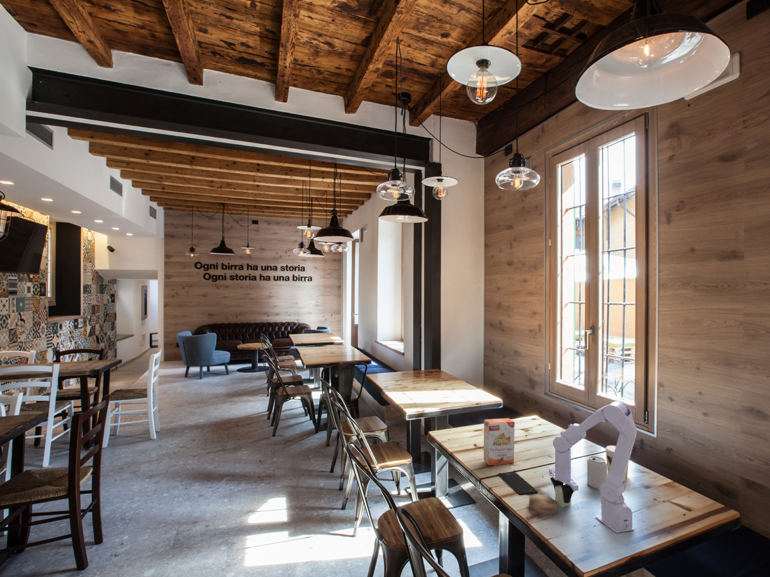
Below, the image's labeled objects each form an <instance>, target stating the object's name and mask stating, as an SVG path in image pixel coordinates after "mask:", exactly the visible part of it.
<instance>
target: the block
mask: <svg viewBox="0 0 770 577" xmlns="http://www.w3.org/2000/svg"><path fill="white" fill-rule="evenodd" d="M554 492H555V493H554V494H555V495H554V500H555V501H556V503H557V505H559V506H561V507H568V506H571V505H572V499H571V500H570V503H564V497H563V491H562V488H561V485H560V486H555V489H554Z"/></svg>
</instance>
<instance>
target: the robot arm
mask: <svg viewBox="0 0 770 577" xmlns="http://www.w3.org/2000/svg"><path fill="white" fill-rule="evenodd" d="M632 411H633V410H632V409H631V408H629V406H628V405H627V404H626V402H624V401H622V400H613V401H611V402H610V404H606V405H605V406H602V407H600V408H598V409H597V410H595V411H594V412H593V413H592V414H591V415H590V416H588V417H587V418H585V420H583V421H582V422H581V423H573V424H572V423H570V424H569V425H568V428H567V429H565V430H564V431H561V432H559V435H558V436H555V437H554V439H553V440H552V445H553V447H554V467H555V468H553V467H549V468H548V474H550V475H552V477H550V479H549V480H550V481H551V484H552V486H553V488H554V490H555V486H560V485H561V488H562V491H563V497H564V503H570V500H571V501H572V496H573V494H574V493H575V491H576V492H577V491H579V484H577V483H576V482H575V480H574V479H573V478H572V454H571V448H572V447H573V446H575V445H576V444H577V443H579V442H580V441H582V440H583V439H584V438H586V436H587V431H588V430H590V429H591V428H593V427H594V426H596V425H597V424H599V423H600V422H603V423H607V422H609V423H610V424H611V425H612V426H613V427H615V428H616V430H617V431H618V432H619V434H618V437H617V442H616V445H615V446H616V448H615V452H614V455H613V459H612V462H611V466H610V469H609V472H608V471H607V477H606V479H605V482H604V483H603V484H602V485H601V486H600V490H599V493H600V496H601V497H600V500H601V503H600V504H601V506H600V509H601V512H600V513H601V514H600V515H595V518H596V519H597V520H598V521H600V522H601V523H602V524H604V525H605V526H606V527H608V528H609V529H611V530H612V531H613V532H615V533H616V534H619V533H625V532H630V531H634V530H635V528H634V526H633V511H632V509H631V508H630V507H629V506H628V505H627V504H626V502H625V497H624V495H623V493H624V492H625V490H626V484H625V480H626V479H625V472H626V469H627V465H628V466H629V462H630V458H631V454H632V451H633V449H634V448H633V447H634V445H635V441H636V437H637V433H638V429H637V425H636V423H635V421H634V417H633V412H632Z"/></svg>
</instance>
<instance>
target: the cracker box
mask: <svg viewBox="0 0 770 577" xmlns="http://www.w3.org/2000/svg"><path fill="white" fill-rule="evenodd" d="M483 462H484V463H485V464H487V465H488V466H496V465H499V466H500V465H509V464H510V465H511V464H515V421H513V420H512V419H510V418H509V417H507V418H491V419H489V418H488V419H484V420H483Z"/></svg>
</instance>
